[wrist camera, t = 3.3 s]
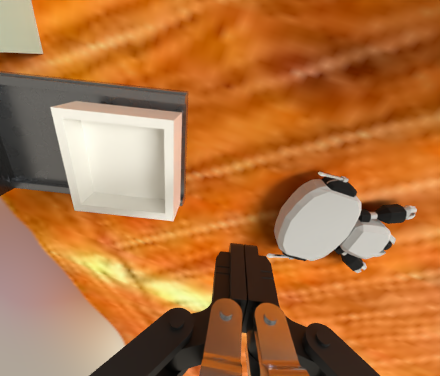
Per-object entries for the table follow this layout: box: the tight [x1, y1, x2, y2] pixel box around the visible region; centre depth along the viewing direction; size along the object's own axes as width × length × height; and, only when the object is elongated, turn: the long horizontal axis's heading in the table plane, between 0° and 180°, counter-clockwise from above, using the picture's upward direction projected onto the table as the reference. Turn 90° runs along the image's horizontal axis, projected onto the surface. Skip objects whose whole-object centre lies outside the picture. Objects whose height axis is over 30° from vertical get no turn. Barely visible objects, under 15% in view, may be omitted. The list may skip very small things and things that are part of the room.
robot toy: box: [266, 172, 417, 273], centre depth 29 cm, size 12×4×15 cm
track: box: [0, 71, 188, 206], centre depth 25 cm, size 13×22×4 cm, turn 84°
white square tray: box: [50, 101, 182, 221], centre depth 24 cm, size 10×10×6 cm
